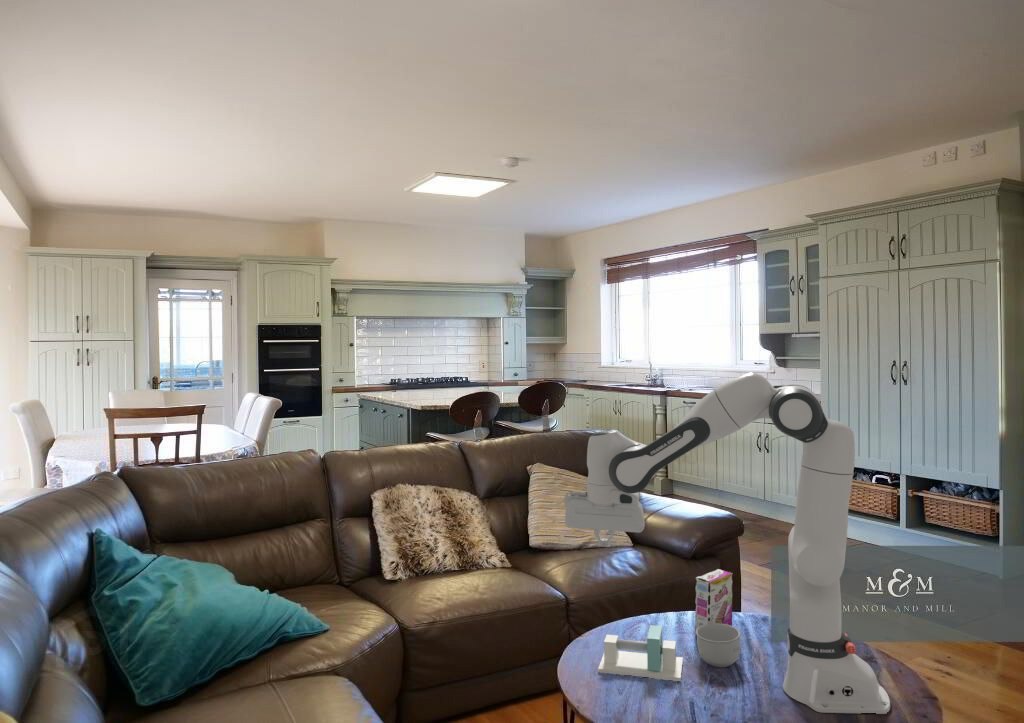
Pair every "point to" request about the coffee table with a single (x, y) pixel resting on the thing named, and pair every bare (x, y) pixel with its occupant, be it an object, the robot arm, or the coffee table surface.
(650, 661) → the collar
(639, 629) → the coffee table surface
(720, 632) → the teacup
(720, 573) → the candy bar box
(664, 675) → the pipe stand
